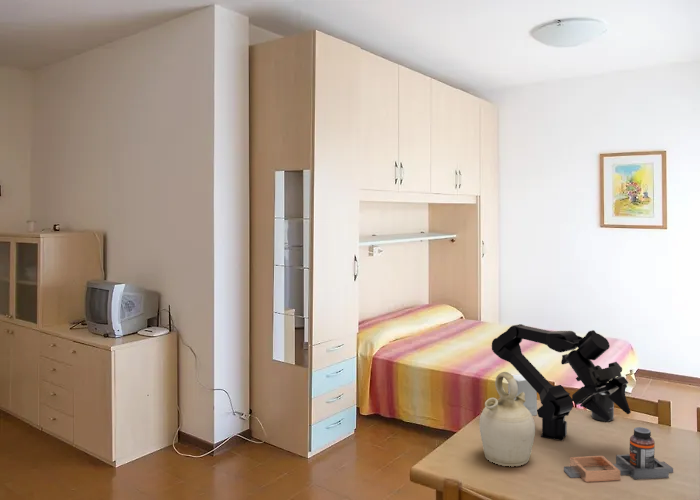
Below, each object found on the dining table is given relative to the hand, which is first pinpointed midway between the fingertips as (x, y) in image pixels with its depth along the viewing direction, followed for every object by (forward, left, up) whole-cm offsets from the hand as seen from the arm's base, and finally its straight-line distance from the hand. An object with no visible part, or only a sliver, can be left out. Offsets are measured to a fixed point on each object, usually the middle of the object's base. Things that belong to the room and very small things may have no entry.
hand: (619, 416), depth 157 cm
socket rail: (0, -7, -13) cm, 14 cm away
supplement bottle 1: (-7, +33, -13) cm, 36 cm away
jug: (-28, -11, -13) cm, 33 cm away
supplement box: (-32, +27, -13) cm, 44 cm away
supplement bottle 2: (+6, -3, -13) cm, 15 cm away
